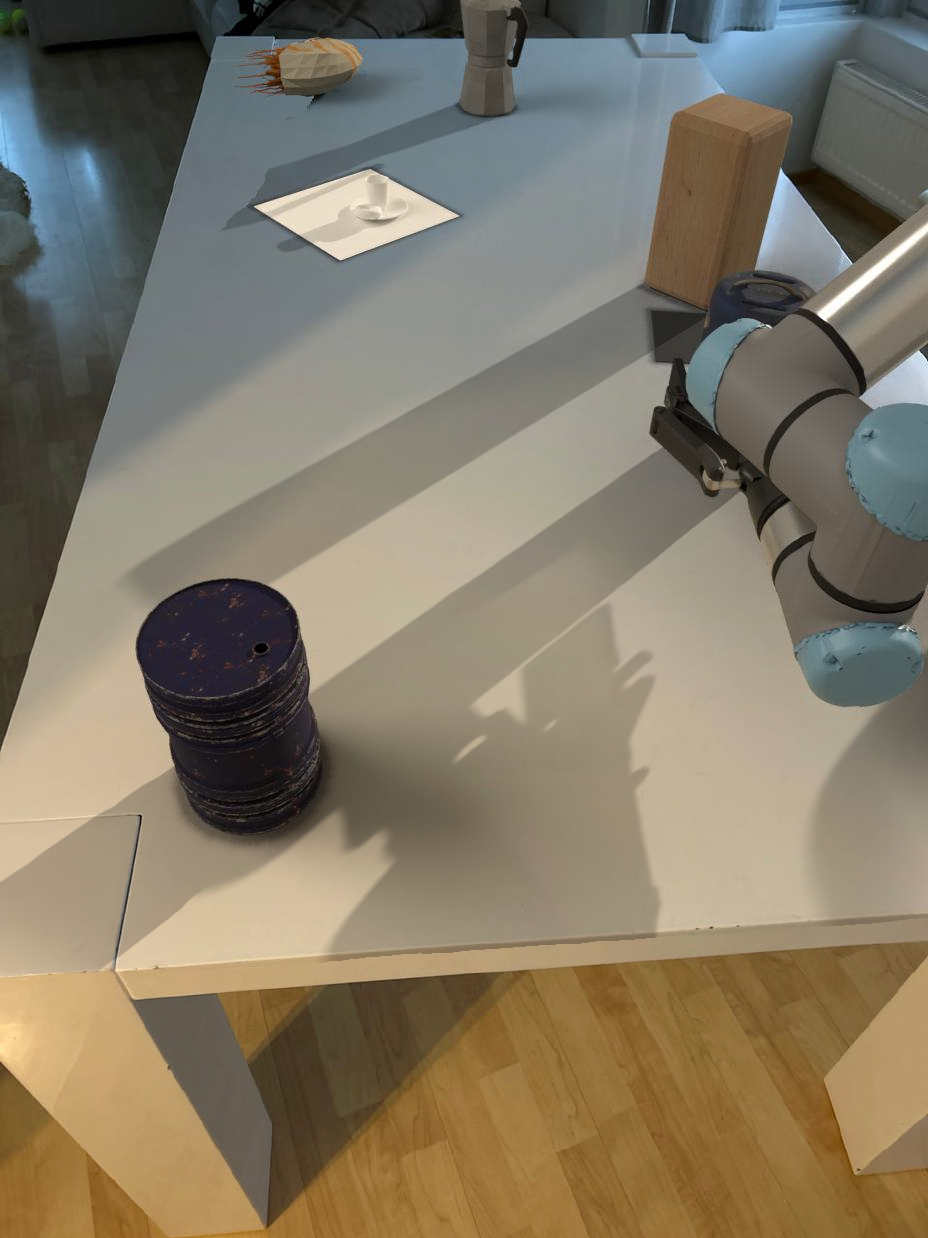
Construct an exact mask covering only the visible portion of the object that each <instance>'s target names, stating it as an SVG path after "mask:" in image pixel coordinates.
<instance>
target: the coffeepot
mask: <svg viewBox="0 0 928 1238" xmlns="http://www.w3.org/2000/svg"><path fill="white" fill-rule="evenodd" d="M459 1H460V9H461V10H460V11H461V19H462V28H463V29H462V30H463V37H464V46H465V49H466V51H467V61H466V63H465V67H464V73H463V79H462V85H461V90H460V97H459V102H458V103H459V105H460V107H461V109H462V111H464V112H466V113H467V114H471V115H474V116H479V117H499V116H504V115H507V114H509V113H511V112H512V111H513V109H514V108H515V107H516V100H515V89H514V79H513V78H514V77H513V70H512V68H514V69H515V68H517V67H518V66H519V62H520V59H521V56H522V52H523V48H524V45H525V41H526V38H527V36H528V35H527V34H528V31H529V27H530V26H529V25H530V24H529V20H528V17H527V15H526V12H525V10H524V9H523V8H522V3H521V1H519V0H459ZM511 52H512V59H511V58H510V54H511Z"/></svg>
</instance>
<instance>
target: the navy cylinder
mask: <svg viewBox="0 0 928 1238" xmlns="http://www.w3.org/2000/svg"><path fill="white" fill-rule="evenodd" d="M306 650H307V649H306V646H305V643H304V640H303V637H302V632H301V624H300V619H299V616H298V613H297V610H296V608H295V607H294V605H293V604H292V602H291V601H290V600H289V599H288V598H287V596H285V595H284V594H283V593H282V592H280V591H279V590H278V589H276V588H274V587H272V586H270V585H268V584H265V583H263V582H260V581H256V580H252V579H249V578H241V577H240V578H239V577H222V578H214V579H208V580H204V581H199V582H196V583H193V584H190V585H187V586H185V587H182V588H181V589H178V590H176V591H175V592H174V593H173V592H172V594H170V595H168V596H167V597H165V598H164V599H162V600H161V601H160V602H159V603H157V604H156V605H155V607H153V608H152V610H151V611H150V612H149V613H148V614H147V615H146V617H145V618H144V619H143V621H142V623H141V625H140V626H139V629H138V632H137V634H136V638H135V657H136V661H137V663H138V666H139V669H140V671H141V674H142V677H143V683H144V688H145V690H146V695H147V696H148V698H149V701H150V704H151V707H152V710H153V713H154V715H155V718H156V719H157V721H158V723H159V725H161V727H162V728H163V730H164V732H166V733H167V735H168V737H169V738H168V745H169V751H170V756H171V760H172V763H173V765H174V770H175V773H176V775H177V778H178V780H179V783H180V786H181V788H182V789H183V790H184V792H185V796H186V798H187V801H188V803H189V806H190V808H191V809H192V810H193V812H194V813H195V814H196V816H197V817H198V818H199V819H200V820H202V822H203V823H205V824H207V825H208V826H209V827H211V828H214V829H215V830H218V831H220V832H224V833H228V834H232V835H239V836H240V835H241V836H242V835H245V836H246V835H257V834H264V833H267V832H270V831H273V830H276V829H278V828H281V827H284V826H285V825H287V824H289V823H290V822H292V821H294V820H295V819H296V818H297V817H298V816H300V815H302V814H303V812H304V811H306V809H307V808H308V807H309V806H310V805H311V804H312V802H313V801H314V799H315V798H316V796H317V794H318V792H319V790H320V787H321V783H322V780H323V771H324V770H323V769H324V768H323V759H322V754H321V753H322V744H321V736H320V730H319V723H318V720H317V717H316V713H315V711H314V709H313V706H312V703H311V702H310V700H309V696H310V695H309V694H310V687H311V674H310V668H309V665H308V657H307V651H306Z"/></svg>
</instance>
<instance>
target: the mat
mask: <svg viewBox="0 0 928 1238" xmlns="http://www.w3.org/2000/svg"><path fill="white" fill-rule="evenodd" d="M650 316H651V323H652V335H653V344H654V355H655V362H657V363H672V364H673V359H674V358H682V360H683V363H684V364H690V362H691V359H692V357H693V355H694V354H695V352H696V350H697V349H698V348H699V345H700V341H701V337H702V333H703V328H704V324H705V320H706V316H707V312H706V313H705V312H704V313H703V312H689V311H670V310H669V311H668V310H653V309H652V310H651V311H650Z"/></svg>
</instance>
